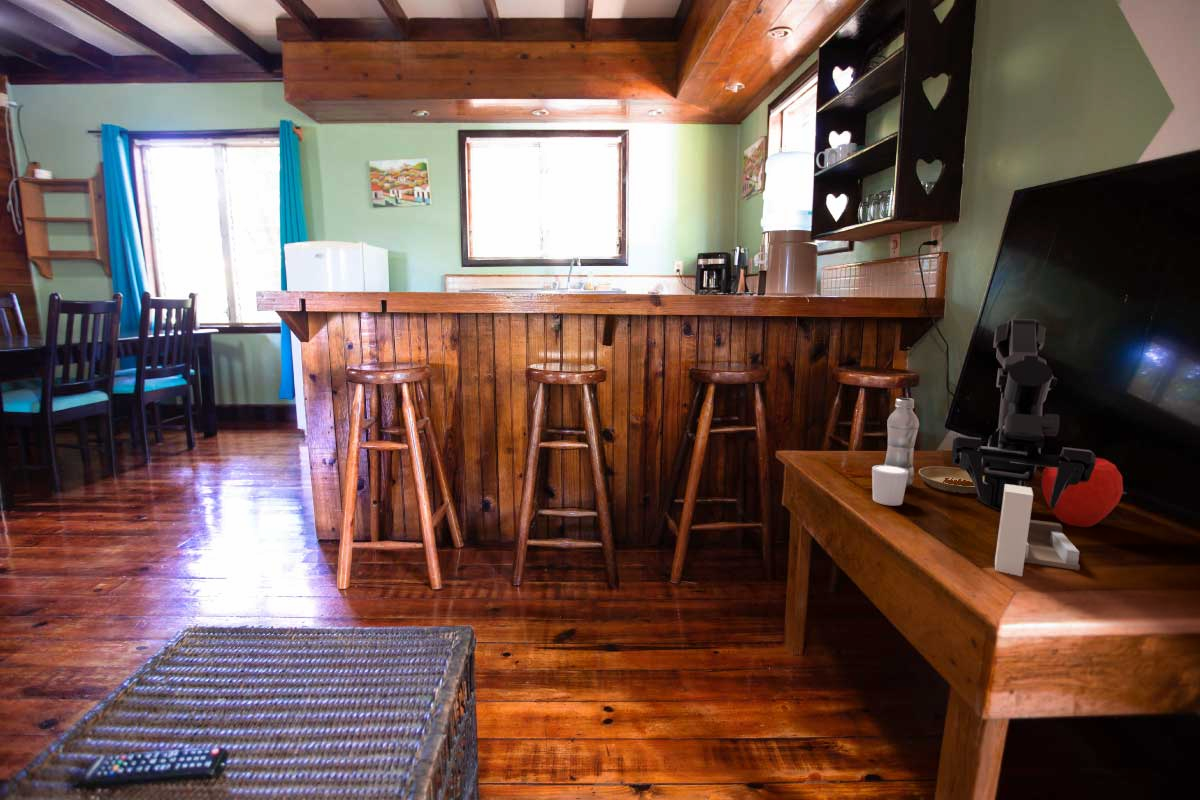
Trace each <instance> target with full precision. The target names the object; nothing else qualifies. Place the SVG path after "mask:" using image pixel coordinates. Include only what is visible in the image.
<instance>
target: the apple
mask: <svg viewBox="0 0 1200 800" xmlns="http://www.w3.org/2000/svg"><path fill="white" fill-rule="evenodd" d="M1060 455H1061V454H1059V455H1058V456H1060ZM1056 474H1057V468H1051V467H1045V468H1043V471H1042V476H1041V489H1042V492H1043V497H1044V499H1045V501H1046V503H1047V505H1048V507H1049V508H1050V499H1051V495H1052V490H1053V485H1054V481H1055V477H1056ZM1123 482H1124V481H1123V476H1122V474H1121V473H1120V471H1119V469H1118V468H1117V466H1116V464H1113V463H1112V462H1110V461H1109V460H1107V459H1105V458H1102V457H1100V458H1099V457H1095V467H1094V469H1093V471H1092V474H1091V476H1090V479H1089V481H1087V482H1079V483H1078V484H1077V485H1069V486H1068V487H1067V488H1066V489H1065V491H1064V492H1063V493H1062V494H1061V496H1060V498H1059V500H1058V502H1057V504H1056V506H1055V507H1054V509H1053V510H1051V512H1052V514H1053V515H1055V517H1056V519H1058V520H1059V521H1060V522H1062V523H1064V524H1066V525H1068V526H1073V527H1077V528H1078V527H1079V528H1089V527H1093V526H1095V525H1096V524H1097V525H1098V523H1099V522H1101V521H1102V520H1103V519H1105V518H1106V517H1107V516H1108V515H1109V514H1110V513H1111V512H1112V511H1113V510H1114V508H1115V507H1116V506H1117V505H1118V503H1119V502H1120V500H1121V497H1122V495H1124V485H1123Z"/></svg>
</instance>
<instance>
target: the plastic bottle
mask: <svg viewBox="0 0 1200 800" xmlns="http://www.w3.org/2000/svg"><path fill="white" fill-rule="evenodd" d="M894 407H895V410H894V411H893V412H892V413H890V415H889V416H888V419H887V420H886V421H887V422H886V425H887V450H886V456H885V460H884V464H883V465H890V466H897V467H901V468H904V469H906V470H908V471H909V473H908V478H907V483H906V487H909V486H911V484H912V483H913V482H914V478H915V469H914V452H915V451H914V450H915V448H914V447H915V443H916V439H917V435H918V432H919V427H920V422H919V418H918V416H917V414H916V413H915V412H914V410H913V409H914V408H915V400H914V398H909V397H897V398H896V399H895V404H894Z"/></svg>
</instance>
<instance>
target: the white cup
mask: <svg viewBox="0 0 1200 800" xmlns="http://www.w3.org/2000/svg"><path fill="white" fill-rule="evenodd" d="M908 473H909V471H908V470H906V469H904V468H901V467H897V466H890V465H884V464H877V465H873V466H872V467H871V475H872V476H871V477H872V479H871V480H872V483H871V485H872V486H871V488H872V500H873V502H875V503H877V504H881V505H884V506H893V507H894V506H895V507H896V506H902V504H903V502H904V496H905V492H906V488H907V486H906V483H907V478H908Z"/></svg>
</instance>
